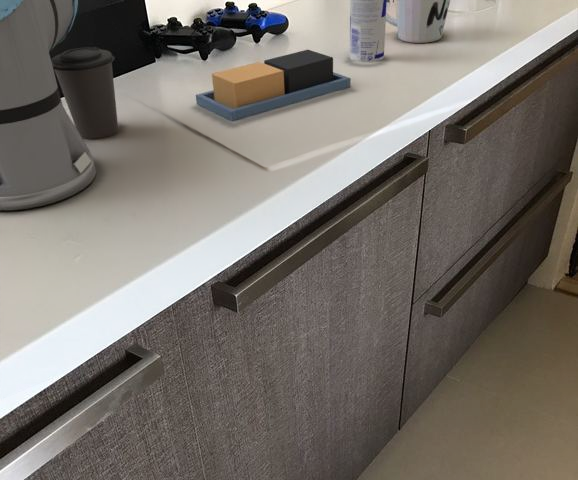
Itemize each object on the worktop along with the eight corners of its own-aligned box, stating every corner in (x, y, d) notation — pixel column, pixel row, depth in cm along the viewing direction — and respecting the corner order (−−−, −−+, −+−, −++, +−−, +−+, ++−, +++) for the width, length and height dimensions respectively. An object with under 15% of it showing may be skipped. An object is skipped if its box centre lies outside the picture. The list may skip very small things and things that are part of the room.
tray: (232, 125, 89) (231, 111, 88) (196, 107, 95) (195, 94, 94) (350, 90, 98) (350, 77, 97) (310, 76, 104) (310, 64, 103)
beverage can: (390, 62, 107) (395, -47, 98) (358, 67, 106) (361, -43, 96) (374, 54, 111) (378, -52, 102) (343, 59, 110) (344, -48, 100)
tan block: (237, 114, 91) (234, 83, 88) (214, 103, 94) (211, 73, 92) (285, 100, 94) (283, 70, 91) (261, 90, 98) (259, 61, 95)
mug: (437, 48, 112) (443, -20, 106) (357, 40, 119) (358, -25, 112) (458, 32, 119) (465, -32, 113) (381, 26, 125) (384, -36, 119)
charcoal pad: (289, 99, 94) (288, 69, 92) (265, 89, 98) (263, 60, 95) (333, 86, 98) (333, 57, 95) (308, 77, 101) (308, 49, 99)
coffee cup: (138, 122, 92) (123, 43, 85) (110, 144, 86) (92, 61, 79) (87, 119, 93) (68, 41, 87) (56, 140, 88) (33, 59, 81)
